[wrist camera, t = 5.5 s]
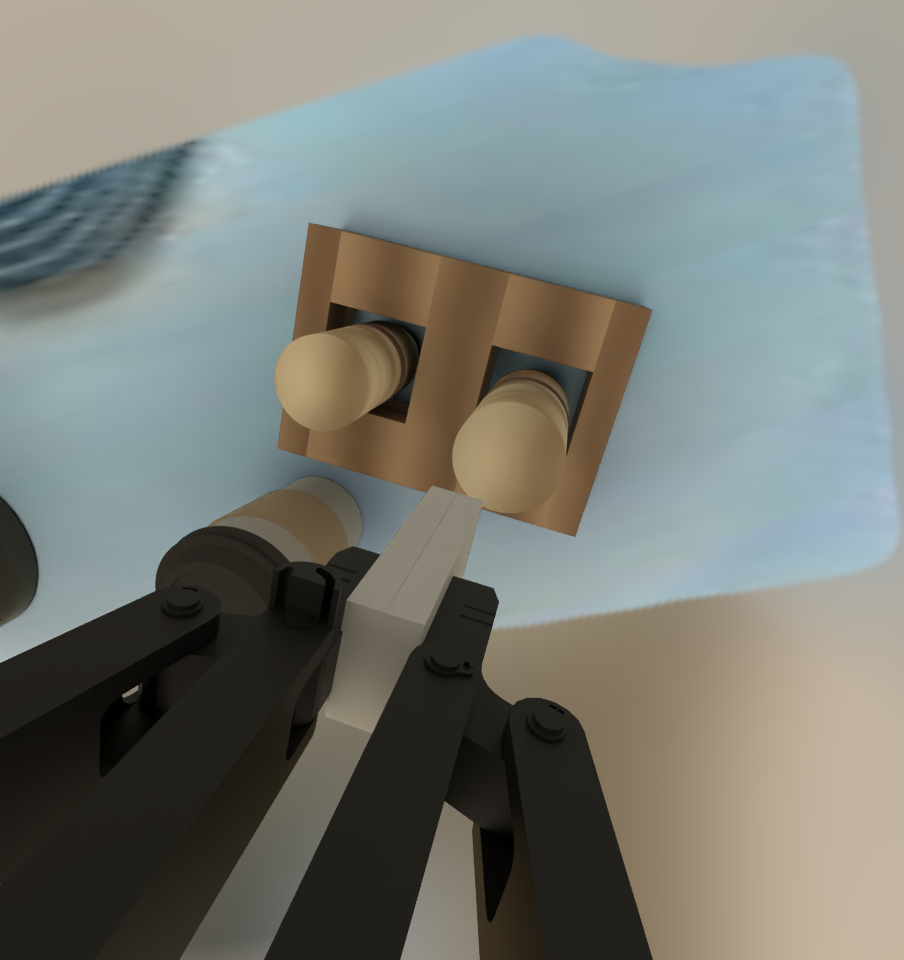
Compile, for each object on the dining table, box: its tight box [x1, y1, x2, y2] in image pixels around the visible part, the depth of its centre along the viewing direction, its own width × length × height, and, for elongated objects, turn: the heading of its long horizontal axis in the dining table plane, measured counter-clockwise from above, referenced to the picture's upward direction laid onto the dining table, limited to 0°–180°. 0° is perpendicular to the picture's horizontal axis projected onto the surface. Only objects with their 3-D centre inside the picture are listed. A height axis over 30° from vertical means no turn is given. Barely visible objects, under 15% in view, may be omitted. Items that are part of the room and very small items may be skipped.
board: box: [277, 223, 652, 537], centre depth 39 cm, size 20×14×5 cm
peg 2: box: [452, 370, 569, 513], centre depth 31 cm, size 5×5×12 cm
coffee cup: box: [155, 477, 362, 616], centre depth 40 cm, size 9×9×15 cm
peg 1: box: [274, 321, 419, 432], centre depth 36 cm, size 5×5×12 cm
